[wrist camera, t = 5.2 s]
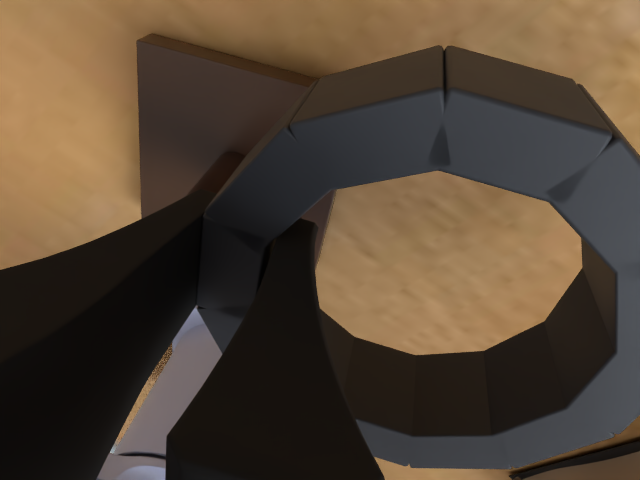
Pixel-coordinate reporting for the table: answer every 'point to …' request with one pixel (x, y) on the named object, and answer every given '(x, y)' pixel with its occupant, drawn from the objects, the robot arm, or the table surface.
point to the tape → (482, 166)
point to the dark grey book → (592, 466)
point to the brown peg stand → (207, 120)
